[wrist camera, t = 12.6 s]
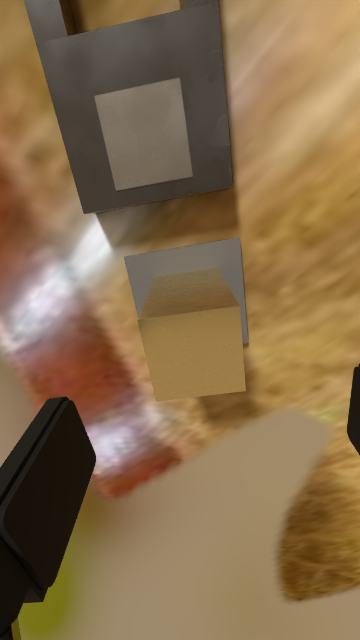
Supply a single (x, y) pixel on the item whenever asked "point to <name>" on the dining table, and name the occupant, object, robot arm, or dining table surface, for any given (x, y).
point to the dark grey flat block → (138, 103)
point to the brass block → (192, 336)
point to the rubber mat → (189, 269)
